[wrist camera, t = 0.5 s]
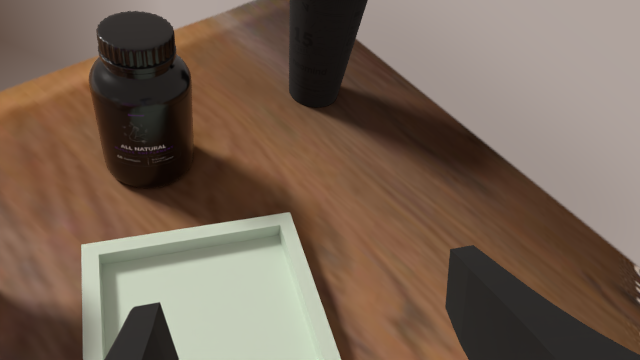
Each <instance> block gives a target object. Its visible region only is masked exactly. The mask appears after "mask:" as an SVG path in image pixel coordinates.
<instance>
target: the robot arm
mask: <svg viewBox="0 0 640 360" xmlns="http://www.w3.org/2000/svg"><path fill="white" fill-rule="evenodd" d="M446 310H447V312H448V315H449V318H450V320H451V323H452V325H453V328H454V330H455V332H456V335H457V337H458V340H459V342H460V344H461V346H462V348H463V350H464V352H465V353H466V355H467V357H468V359H469V360H640V355H639V354H637V353H635V352H633V351H631V350H629V349H627V348H625V347H623V346H622V345H620V344H618V343H616V342H614V341H613V340H611V339H609V338H607V337H605V336H604V335H602V334H600V333H598V332H597V331H595V330H593V329H592V328H590V327H588V326H587V325H585V324H583V323H582V322H580V321H579V320H577V319H575V318H574V317H572V316H571V315H569V314H568V313H566V312H564V311H563V310H561V309H560V308H558V307H557V306H555V305H554V304H552V303H551V302H549V301H548V300H547V299H545V298H544V297H542V296H541V295H539V294H538V293H537V292H535V291H534V290H532V289H531V288H530V287H528V286H527V285H525V284H524V283H523V282H521V281H520V280H519V279H517V278H516V277H515V276H513V275H512V274H511V273H509V272H508V271H507V270H505V269H504V268H503V267H501V266H500V265H499V264H497V263H496V262H495V261H493V260H492V259H491V258H490V257H488V256H487V255H486V254H484V253H483V252H482V251H480V250H479V249H478V248H476V247H475V246H474V245H472V246H466V247H461V248H455V249H450V259H449V271H448V283H447V295H446ZM104 360H179V358H178V355H177V352H176V349H175V346H174V343H173V340H172V337H171V334H170V331H169V328H168V325H167V322H166V319H165V316H164V313H163V310H162V307H161V304H160V302H157V303H152V304H146V305H141V306H135V307H133V308H132V309H131V311H130V312H129V314H128V316H127V318H126V320H125V322H124V324H123V326H122V328H121V330H120V332H119V334H118V336H117V337H116V339H115V341H114V343H113V345H112V347H111V348H110V350H109V352H108V354H107V356H106V358H105V359H104Z"/></svg>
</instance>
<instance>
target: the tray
mask: <svg viewBox="0 0 640 360" xmlns="http://www.w3.org/2000/svg"><path fill="white" fill-rule="evenodd" d="M81 249H82V322H83V360H104V359H105V358H106V356H107V354H108V352H109V350H110V348H111V347H112V345H113V343H114V341H115V339H116V337H117V336H118V334H119V332H120V330H121V328H122V326H123V324H124V322H125V320H126V318H127V316H128V314H129V312H130V311H131V309H132V308H133V307H135V306H141V305H146V304H152V303H157V302H160V304H161V307H162V310H163V313H164V316H165V319H166V322H167V325H168V328H169V331H170V334H171V337H172V340H173V343H174V346H175V349H176V352H177V355H178V358H179V360H341V358H340V355H339V352H338V349H337V346H336V343H335V340H334V337H333V335H332V332H331V329H330V326H329V323H328V320H327V317H326V314H325V312H324V309H323V306H322V303H321V300H320V297H319V294H318V292H317V289H316V286H315V283H314V280H313V277H312V274H311V271H310V269H309V266H308V263H307V260H306V257H305V254H304V251H303V248H302V246H301V243H300V240H299V237H298V234H297V231H296V228H295V225H294V223H293V220H292V217H291V214H290V212H288V213H281V214H275V215H269V216H262V217H256V218H249V219H243V220H237V221H230V222H224V223H217V224H211V225H205V226H198V227H192V228H185V229H179V230H173V231H166V232H160V233H153V234H147V235H141V236H134V237H128V238H121V239H115V240H109V241H102V242H96V243H89V244H83V245H81Z"/></svg>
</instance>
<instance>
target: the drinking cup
mask: <svg viewBox="0 0 640 360" xmlns="http://www.w3.org/2000/svg"><path fill="white" fill-rule="evenodd" d="M366 3H367V0H290V44H289V92H290V94H291V96H292V97H293V98H294V99H295V100H296V101H297V102H299V103H301V104H303V105H306V106H310V107H324V106H328V105H330V104H332V103H333V102H334V101H335V100H336V98H337V95H338V92H339V89H340V86H341V83H342V79H343V76H344V73H345V70H346V67H347V64H348V60H349V57H350V54H351V51H352V48H353V45H354V42H355V38H356V35H357V32H358V29H359V26H360V23H361V19H362V16H363V13H364V10H365V7H366Z"/></svg>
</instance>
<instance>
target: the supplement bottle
mask: <svg viewBox="0 0 640 360" xmlns="http://www.w3.org/2000/svg"><path fill="white" fill-rule="evenodd" d="M97 40H98V52H99V56H100V57H98V59H97V60H96V61H95V62H94V64H93V66H92V68H91V70H90V73H89V84H90V90H91V95H92V100H93V105H94V110H95V115H96V120H97V125H98V129H99V134H100V139H101V144H102V149H103V154H104V158H105V162H106V165H107V168H108V170H109V171H110V172H111V174H112V175H113V176H114V177H115V178H117V179H118V180H119V181H121V182H123V183H125V184H127V185H130V186H134V187H139V188H156V187H161V186H165V185H168V184H170V183H173V182H175V181H176V180H178V179H179V178H181V177H182V176H183V175H184V174H185V173H186V172H187V171H188V169H189V168H190V166H191V164H192V161H193V118H192V85H191V74H190V71H189V69H188V67H187V65H186V64H185V62H184V61H183V60H182V59H181V58H180V57H179V56H178V55H177V54H176V45H175V37H174V30H173V27H172V26H171V25H170V23H169V22H167V20H166V19H163V18H162V17H160V16H157V15H156V14H151V13H145V12H138V11H133V12H131V11H128V12H121V13H117V14H114V15H111V16H109V17H107V18H105V19H104V20H103V21H101V22H100V24H99V25H98V28H97Z"/></svg>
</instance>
